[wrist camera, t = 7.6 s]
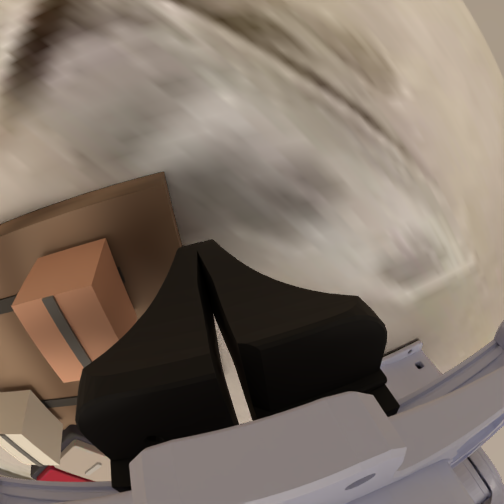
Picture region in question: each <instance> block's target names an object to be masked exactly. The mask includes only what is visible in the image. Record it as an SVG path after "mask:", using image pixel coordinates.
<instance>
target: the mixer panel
mask: <svg viewBox="0 0 504 504" xmlns="http://www.w3.org/2000/svg"><path fill="white" fill-rule="evenodd" d="M104 238H106V240H107V243H108V246H109V248H110V251H111V254H112V256H113V259H114V262H115V264H116V267H117V269H118V272H119V274H120V277H121V279H122V282H123V284H124V287H125V289H126V291H127V294H128V296H129V299H130V301H131V303H132V305H133V308H134V310H135V312H136V315H137V321H138V319H139V318H140V317H141V316H142V315H143V314H144V312H145V311H146V310H147V308H148V307H149V306H150V304H151V303H152V301H153V300H154V298H155V296H156V295H157V293H158V291H159V289H160V288H161V286H162V284H163V282H164V280H165V278H166V276H167V274H168V272H169V269H170V267H171V265H172V262H173V260H174V257H175V254H176V251H177V249H178V248H180V247H182V243H181V239H180V235H179V232H178V228H177V224H176V220H175V216H174V212H173V208H172V204H171V200H170V195H169V191H168V187H167V183H166V178H165V174H164V172H160V173H156V174H152V175H148V176H145V177H141V178H137V179H133V180H130V181H126V182H123V183H119V184H116V185H112V186H109V187H106V188H102V189H99V190H96V191H92V192H89V193H86V194H83V195H80V196H77V197H74V198H71V199H68V200H65V201H62V202H59V203H56V204H53V205H50V206H47V207H45V208H42V209H39V210H36V211H34V212H31V213H28V214H26V215H23V216H20V217H18V218H15V219H13V220H10V221H8V222H5V223H3V224H0V392H12V391H22V390H31V391H32V392H33V393H34V394H35V396H36V397H37V398H38V399H39V400H40V401H41V402H42V403H43V404H44V405H45V406H46V408H47V409H48V410H49V411H50V412H51V413H52V414H53V415H54V416H55V417H56V418H57V419H58V420H59V421H60V422H61V423H62V424H63V430H65V429H66V428H67V427H68V426H69V425H72V424H73V425H76V422H75V415H76V404H77V395H78V387H79V382H80V380H79V381H72V382H66V383H63V381H62V380H61V379H60V378H59V376H58V375H57V374H56V372H55V371H54V370H53V368H52V367H51V366H50V364H49V363H48V362H47V360H46V359H45V358H44V356H43V355H42V353H41V352H40V350H39V349H38V348H37V346H36V345H35V343H34V342H33V340H32V339H31V337H30V336H29V334H28V333H27V331H26V330H25V328H24V326H23V325H22V323H21V322H20V320H19V318H18V317H17V315H16V313H15V312H14V310H13V308H12V307H11V306H12V304H13V302H14V300H15V298H16V296H17V294H18V292H19V290H20V288H21V287H22V285H23V283H24V281H25V279H26V278H27V276H28V274H29V272H30V271H31V269H32V267H33V265H34V264H35V262H36V260H37V259H38V258H40V257H43V256H46V255H50V254H53V253H56V252H59V251H63V250H66V249H69V248H73V247H76V246H79V245H83V244H86V243H90V242H93V241H97V240H100V239H104Z"/></svg>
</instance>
